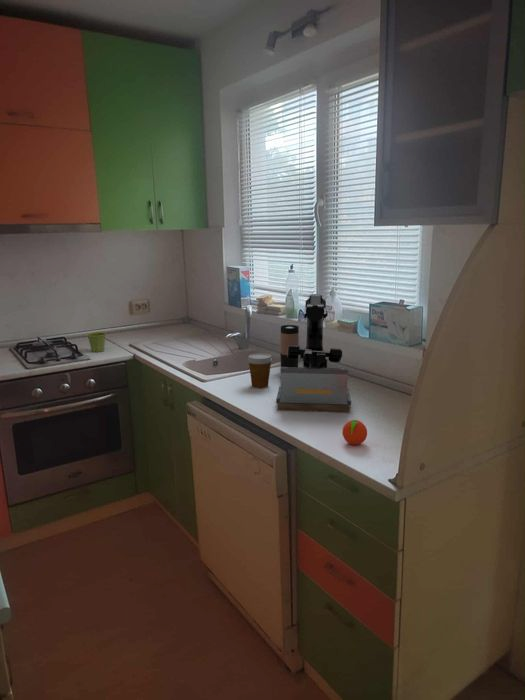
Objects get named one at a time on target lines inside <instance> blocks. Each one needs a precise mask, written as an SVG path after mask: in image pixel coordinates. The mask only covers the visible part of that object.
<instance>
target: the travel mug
mask: <svg viewBox="0 0 525 700" xmlns="http://www.w3.org/2000/svg"><path fill="white" fill-rule="evenodd" d="M299 328H300V327H299V325H295V324H283V325H281V326H280V350H279V351H280V368H281V367H299V357H300V355H298V358H297V359H288V358H287V351H288V346H290V345H295V346H300V342H299V341H300V340H299V333H300V331H299Z"/></svg>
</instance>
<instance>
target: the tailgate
mask: <svg viewBox="0 0 525 700" xmlns="http://www.w3.org/2000/svg"><path fill="white" fill-rule="evenodd" d="M279 370H280V372H279V374H280V386H279V387H280V402H283V403H317V404H347V388H348V377H349V368H347V367H327V368H308V367H302V366H301V367H299V366H298V367H281V366H280V369H279Z"/></svg>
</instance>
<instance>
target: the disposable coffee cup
mask: <svg viewBox="0 0 525 700" xmlns="http://www.w3.org/2000/svg"><path fill="white" fill-rule="evenodd" d="M272 361H273V358H272V355H271V354H269V353H252V354H249V355H248V358H247V362H248V366H249V367H248V369H249V374H250V382H251V387H252V388H255V389H264V388H265V389H266V388H268V387H269V383H270V382H269V381H270V373H271V366H272V365H271V364H272Z"/></svg>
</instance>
